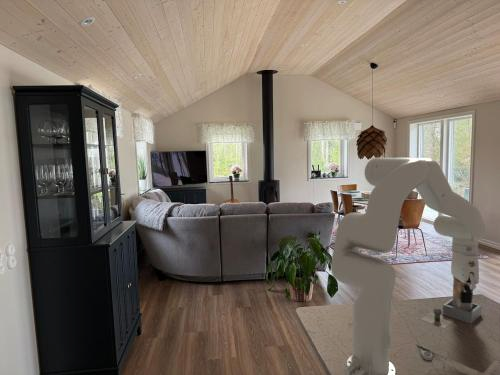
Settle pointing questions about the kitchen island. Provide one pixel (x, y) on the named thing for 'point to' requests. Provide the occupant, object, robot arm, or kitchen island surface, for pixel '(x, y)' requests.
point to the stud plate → (438, 323)
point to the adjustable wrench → (425, 353)
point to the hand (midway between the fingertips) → (462, 298)
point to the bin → (462, 312)
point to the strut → (457, 296)
